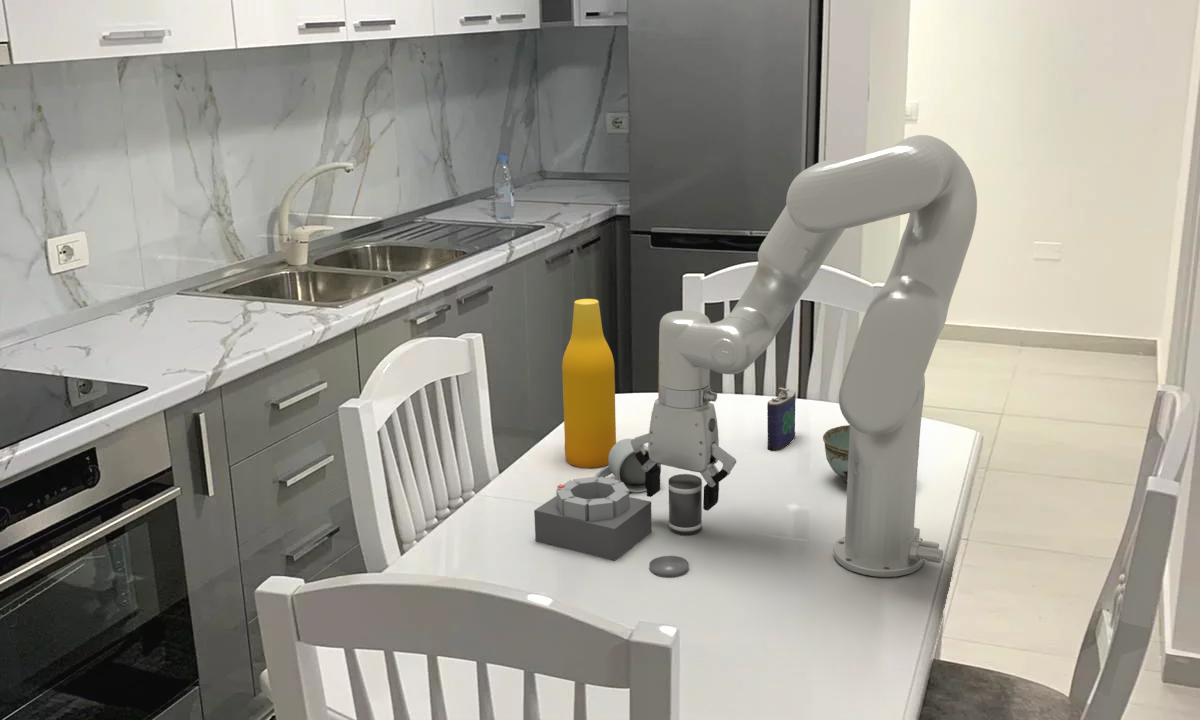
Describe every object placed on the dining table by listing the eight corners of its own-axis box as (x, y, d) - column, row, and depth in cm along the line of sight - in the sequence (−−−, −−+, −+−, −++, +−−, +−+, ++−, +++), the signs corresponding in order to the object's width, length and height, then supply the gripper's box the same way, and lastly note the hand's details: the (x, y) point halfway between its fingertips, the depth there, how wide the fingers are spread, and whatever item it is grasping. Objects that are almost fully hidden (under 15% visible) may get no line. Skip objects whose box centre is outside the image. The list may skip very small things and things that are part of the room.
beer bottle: (599, 472, 200) (595, 310, 191) (555, 463, 204) (549, 304, 196) (626, 455, 207) (623, 298, 199) (582, 446, 212) (578, 293, 203)
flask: (784, 434, 215) (786, 379, 212) (799, 437, 214) (801, 382, 211) (764, 450, 208) (765, 393, 205) (779, 453, 207) (780, 396, 203)
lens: (707, 525, 178) (707, 477, 175) (692, 538, 174) (692, 489, 171) (678, 519, 180) (677, 471, 178) (662, 531, 176) (662, 483, 174)
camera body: (651, 531, 176) (651, 485, 174) (615, 560, 167) (614, 511, 165) (574, 514, 183) (572, 469, 181) (535, 540, 174) (533, 493, 172)
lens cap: (693, 563, 166) (693, 557, 166) (682, 579, 161) (682, 573, 161) (656, 559, 168) (655, 554, 168) (644, 575, 163) (644, 569, 163)
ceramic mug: (646, 472, 199) (645, 430, 197) (662, 489, 192) (661, 446, 189) (587, 481, 196) (585, 439, 194) (601, 499, 189) (599, 456, 187)
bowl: (853, 504, 184) (855, 458, 182) (805, 476, 196) (806, 431, 194) (921, 489, 189) (924, 443, 187) (871, 462, 201) (873, 419, 199)
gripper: (747, 397, 170) (743, 503, 175) (644, 378, 178) (643, 480, 183) (726, 412, 164) (722, 522, 169) (620, 391, 172) (619, 497, 177)
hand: (681, 500), depth 176 cm, fingers open, 9 cm apart
